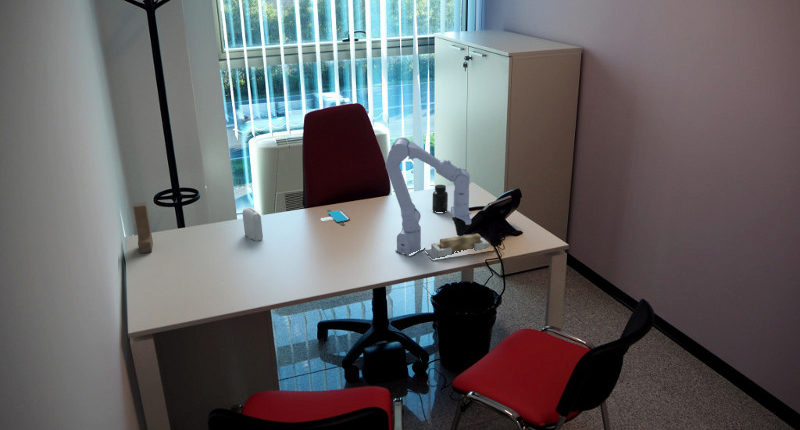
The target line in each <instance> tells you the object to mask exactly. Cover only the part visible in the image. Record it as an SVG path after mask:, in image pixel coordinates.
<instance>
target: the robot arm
mask: <svg viewBox="0 0 800 430" xmlns="http://www.w3.org/2000/svg"><path fill="white" fill-rule="evenodd" d="M407 157H408V160H413V159H418V160H419V161H422V162H423V163H425V164H426V165H429V166H430V167H433V168H434V169H435V173H437V175H438V176H439V175H440V176H441V177H443V178H444V179H446V181H447V180H448V181H449V182H452V183H453V186H454V190H453V206H451V207H450V212H451V213H452V217H451V220H452V221H453V224H454V227H455V231H456V235H457V237H458V236H465V235H464V234H465V231H466V228H467V225H468V226H469V225H471V224H472V219H471V216H470V215H472V212H471V211H470V209H469V206H470V182H471V180H470V178H471V177H470V173H469V172H468V171H467V169H464V168H462V167H457V166H456V165H454V164H452V161H451V160H449V159H447V160H446V159H441V160H440V159H438V158H436V156H433V155H432V154H431V153H429V152H428V151H427V150H425V149H423V148H422V147H420V146H419V145H418V144H416V143H415V142H413V141H412V140H409V139H408V138H406V137H398V138H397V139H395V140H394V143H393V144H392V145H391V148H390V149H389V151H388V156H387V159H386V162H385V169H386V172H387V174H388V177H389V180H390V182H391V183H390V184H391V186H392V189H393V191H394V194H395V197H396V200H397V203H398V205H399V207H400V216H401V221H402V222H401V226H402V227H401V230H400V232H399V233H398V234H397V236H396V249H395V250H394V251H395V252H396V251H398V252H397V253H399V252H401V253H400V254H402V253H404V254H403V255H405V254H407V255H406V256H408V255H409V254H411V253H413V252H416V251H418V250H420V249H421V246H422V245H421V244H422V242H421V240H422V233H421V231H422V229H421V225H420V223H419V222H420V220H421V216H422V215H421V212H420V211H419V210H418V208H416V205H415V204H414V203H413V200H412V198H411V196H410V195H411V194H410V193H409V189H408V187H407V184H406V180H405V178H404V175H403V172H402V170H401V167H400V165H401V164H402V162H403V161H404V160H406V159H407Z"/></svg>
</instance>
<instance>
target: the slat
mask: <svg viewBox="0 0 800 430" xmlns="http://www.w3.org/2000/svg"><path fill="white" fill-rule="evenodd" d="M480 237H482V236H481V235H480V234H479V233H472V234H465V235H463V236H458V235H457V236H452V237H447V238H441V239H440V238H439V243H440V249H443V248H449V247H450V248H451V249H452V252H455V251H461V250H467V249H473V248H474V244H475V243H480Z"/></svg>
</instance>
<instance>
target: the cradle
mask: <svg viewBox="0 0 800 430" xmlns="http://www.w3.org/2000/svg"><path fill="white" fill-rule="evenodd" d="M489 244H490V243H489V241H487V240H486V239H485V238H484V237H482V236H481V237H480V243H475V244H474V250H475V251H477V250H482V249H486V248H488V247H489ZM430 246H431V249H424V252H425V251H426V252H427V253H428V255H429V256H430V257H431V258H432V259H435V258H440V257H445V256H447V255H452V254H454V252H452V249H451V248H450V247H449V248H443V249H440V242H433V243H431V245H430ZM463 251H464V250H463ZM459 252H461V251H459ZM455 253H458V252H457V251H456V252H455ZM428 255H427V256H428Z"/></svg>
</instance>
